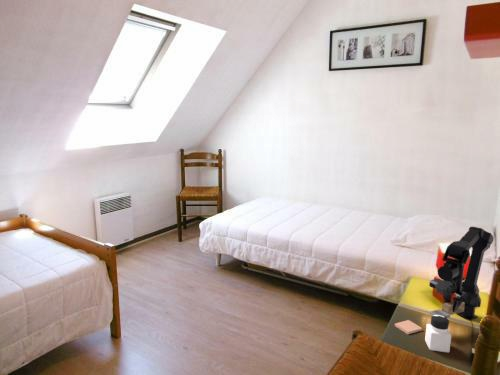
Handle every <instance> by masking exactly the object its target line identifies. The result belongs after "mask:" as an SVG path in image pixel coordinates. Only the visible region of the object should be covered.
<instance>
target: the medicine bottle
mask: <svg viewBox="0 0 500 375" xmlns="http://www.w3.org/2000/svg"><path fill="white" fill-rule="evenodd" d="M449 324H450V320H449V318H446V317H444V316H441V315H433V316H432V315H431V318H430V323H426V327H425V328H426V329H425V334H424V335H425V337H424V340H425V343H426V345H427V347H428V350H430V351H433V352H435V351H436V352H442V353H450V351H451V344H452V338H453V337H452V334H451V332H450V331H449Z"/></svg>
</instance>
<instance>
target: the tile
mask: <svg viewBox="0 0 500 375" xmlns="http://www.w3.org/2000/svg"><path fill="white" fill-rule="evenodd" d="M394 327H396V328H397V329H398V330H400V331H402V332H403V333H405V334H406V335H410V334H413V333H418V332H422V330H423V328H422V327H421V326H420V325H418V324H416V323H415V322H413V321H411V320H410V319H407V320H404V321H399V322H396V323H394Z"/></svg>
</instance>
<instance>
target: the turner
mask: <svg viewBox="0 0 500 375" xmlns="http://www.w3.org/2000/svg"><path fill="white" fill-rule="evenodd" d="M453 304H454V300H451V302H448V303H445V302H443V303H442V305H441V306H442V307H441V308H440V309H435V310H431V311H429V315H430V316H431V317H432V316H433V315H441V316H444V317H446V318H447V319H449V318H451V316H453V315H457V314H456V313H460V312H464V306H465V303H464V302H462V304H461V305H460V306H459V307H458V309H457V310H456V312H453Z"/></svg>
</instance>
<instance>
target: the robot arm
mask: <svg viewBox="0 0 500 375" xmlns="http://www.w3.org/2000/svg"><path fill="white" fill-rule="evenodd" d="M494 239H495V238H494V235H493V234H492V233H491V232H489V231H486V230H485V229H484V228H481V227H477V226H470V227H469V228H468V231H467V232H466V233H465V234H464V235H463V236H462V237H461V238H460V239H459V240H455V241H453V242H451V243H450V244H448V246H447V247H446V248H445V253H444V254H443V257H442V259H441V261H444V263H443V265H442V266H440V267H438V269H437V276H438V277H439V278H435V279H431V280H430V281H429V285H428V286H429V287H430V288H432V289H435V291H436V293H437V294H440V295H441V296H442V299H443V303H448V302H452V301H454V304H453V312H456V310H457V309H458V307H459V306H460V305H461V304H462V302H464V303H465V306H464V312H460V313H456V314H455V315H458V316H459V317H461V318H464V319H466V320H469V321H470V320H474V319H478V318H479V317H478V315H476V314H475V312H476V309H477V308H480V307H481V304H482V298H481V296H480V288H479V286H478V279H479V275H480V271H481V269H482V268H481V267H482V263H483V258H484V255H485V252H486V251H487V250H489V249H490V248H491V245H492V244H493V242H494ZM471 248H472V250H471ZM470 250H471V252H470ZM468 260H469V262H468ZM467 263H468V265H467V270H466V274H465V277H464V273H465V272H464V271H465V265H466V264H467ZM453 295H455V296H454V297H452V296H453Z"/></svg>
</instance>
